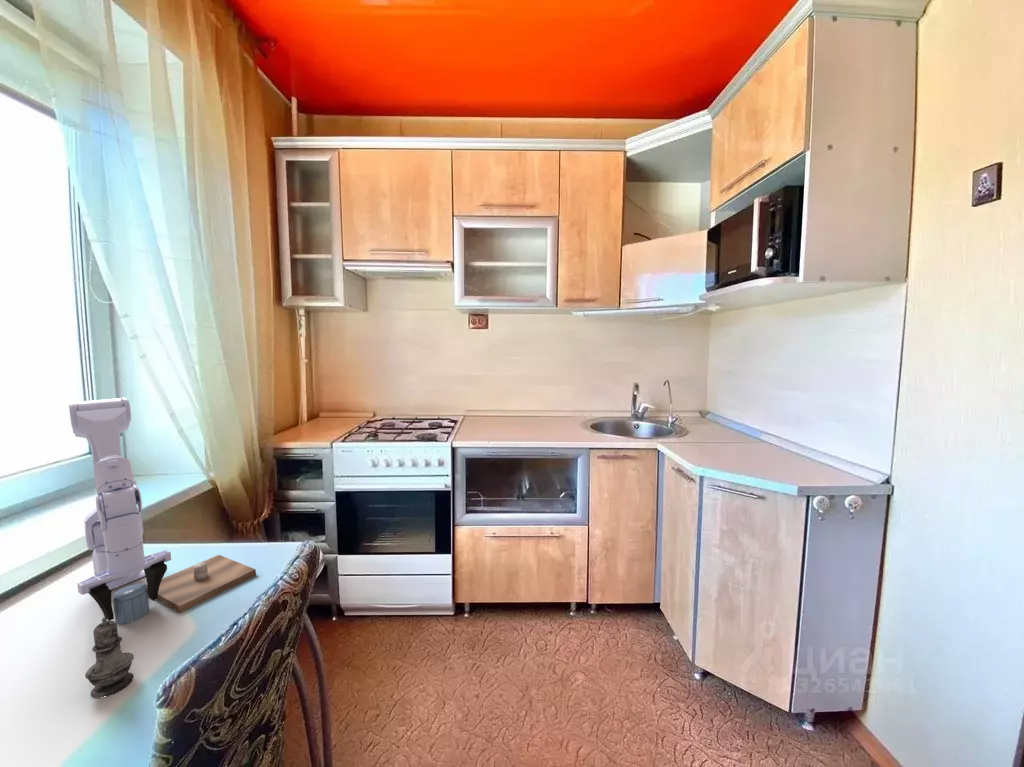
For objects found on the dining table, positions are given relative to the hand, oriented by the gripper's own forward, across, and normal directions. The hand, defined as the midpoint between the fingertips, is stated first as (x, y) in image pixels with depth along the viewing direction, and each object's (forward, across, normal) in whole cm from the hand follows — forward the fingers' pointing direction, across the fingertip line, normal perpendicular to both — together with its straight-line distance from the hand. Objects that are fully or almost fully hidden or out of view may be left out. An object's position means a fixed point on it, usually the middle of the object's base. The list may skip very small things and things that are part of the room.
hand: (131, 608), depth 89 cm
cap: (+2, 0, 0) cm, 2 cm away
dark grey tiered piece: (+2, -10, -20) cm, 22 cm away
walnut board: (+2, +13, 0) cm, 13 cm away
